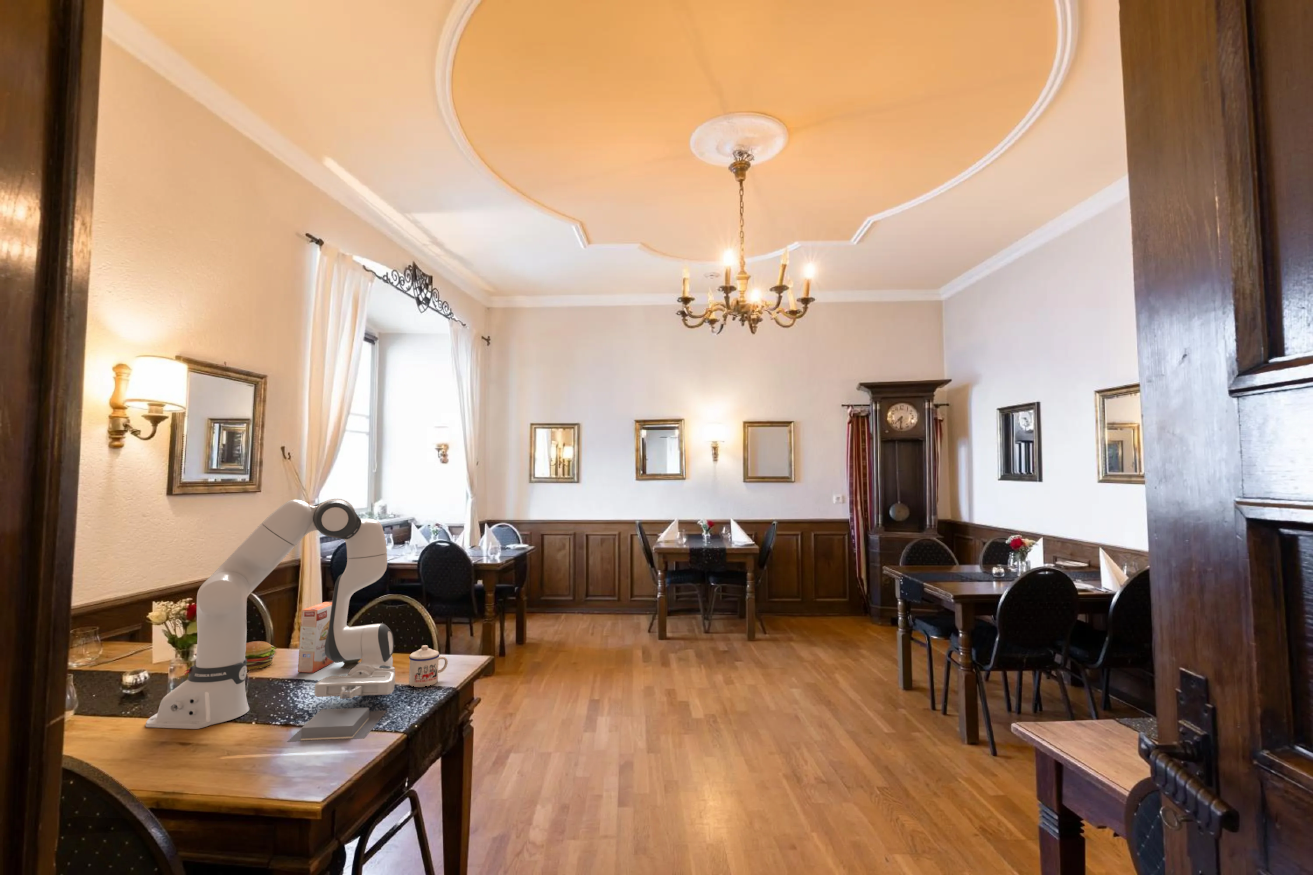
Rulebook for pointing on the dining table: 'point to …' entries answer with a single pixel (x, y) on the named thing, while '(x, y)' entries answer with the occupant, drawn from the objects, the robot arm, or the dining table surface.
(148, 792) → the dining table surface
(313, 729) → the glazed tile
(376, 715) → the felt mat
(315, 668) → the cracker box
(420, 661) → the teacup with lid
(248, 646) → the food
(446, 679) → the dining table surface
